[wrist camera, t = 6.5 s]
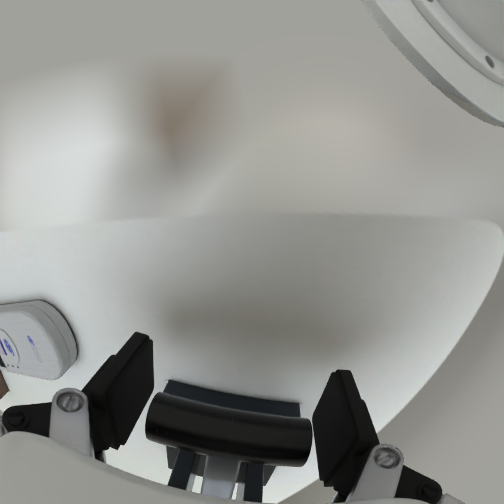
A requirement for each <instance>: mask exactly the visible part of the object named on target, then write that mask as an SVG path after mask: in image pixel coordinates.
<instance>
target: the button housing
mask: <svg viewBox="0 0 504 504" xmlns="http://www.w3.org/2000/svg"><path fill="white" fill-rule="evenodd" d="M8 391H9V390H8V388H7V385H6V383H5V381H4V378H3V376H2V374H1V371H0V399H1V398H2V397H3V396H4V395H5V394H6V393H7V392H8Z"/></svg>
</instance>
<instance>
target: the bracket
mask: <svg viewBox="0 0 504 504" xmlns="http://www.w3.org/2000/svg"><path fill="white" fill-rule="evenodd" d="M163 393H165V394H168V395H172V396H176V397H179V398H183V399H187V400H191V401H195V402H200V403H204V404H209V405H213V406H218V407H223V408H229V409H234V410H240V411H246V412H253V413H259V414H267V415H275V416H285V417H295V418H300V406H299V404H298V403H288V402H279V401H271V400H264V399H257V398H250V397H244V396H238V395H233V394H227V393H222V392H217V391H212V390H208V389H203V388H199V387H195V386H191V385H186V384H183V383H179V382H175V381H171V380H169V381H168V383H167V385H166V387H165V389H164V391H163ZM166 448H167V459H168V468H170V469H173V470H172V473H171V476H170V479H169V482H168V485H167V486H170V487H174V488H178V489H182V490H186V491H190V492H192V488H193V484H194V480H195V476H196V475H197V476H202V477H203V475H204V469H205V463H206V457H207V456H206V455H202V454H197V453H193V452H189V451H185V450H181V449H177V448H174V447H170V446H167V445H166ZM275 468H276V465H264V464H255V463H247V462H241V463H240V467H239V471H238V475H237V479H236V483H238V488H237V496H236V500H240V501H249V502H259V503H262V493H263V486H266V484H267V482H268V480H269V479H270V477H271V475H272V473H273V471H274V470H275Z"/></svg>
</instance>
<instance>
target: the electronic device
mask: <svg viewBox="0 0 504 504" xmlns="http://www.w3.org/2000/svg"><path fill="white" fill-rule="evenodd" d="M76 356H77V349H76V342H75V340H74V337H73V335H72V332H71V330H70V328H69V326H68V324H67V323H66V321H65V319H64V318H63V317H62V316H61V314H60V313H59V312H58V311H57V310H56V309H55V308H53V307H52V306H51V305H49V304H48V303H46V302H43V301H39V300H36V301H28V302H21V303H14V304H6V305H0V370H4V371H8V372H12V373H16V374H21V375H26V376H31V377H36V378H41V379H47V380H56V379H59V378H60V377H61V376H62V375H63V374H64V373H65V372H66V371H67V370H68V369H69V368H70V367H71V366H72V365H73V363H74V362H75V360H76Z"/></svg>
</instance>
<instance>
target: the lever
mask: <svg viewBox="0 0 504 504" xmlns="http://www.w3.org/2000/svg"><path fill="white" fill-rule="evenodd" d="M145 434H146V438H147V439H148V440H150V441H153V442H157V443H160V444H163V445H167V446H170V447H174V448H177V449H181V450H185V451H189V452H193V453H197V454H202V455H206V456H207V457H206V463H205V469H204V475H203V482H202V488H201V494H204V495H209V496H214V497H220V498H226V499H231V498H232V494H233V490H234V487H235V483H236V479H237V475H238V471H239V467H240V463H241V462H247V463H255V464H264V465H276V466H291V467H301V466H303V465H304V464H305V463H306V461H307V459H308V457H309V454H310V451H311V446H312V436H313V433H312V425H311V422H310V420H309V419H307V418H295V417H285V416H275V415H267V414H259V413H253V412H246V411H240V410H234V409H229V408H223V407H218V406H213V405H209V404H204V403H200V402H195V401H191V400H187V399H183V398H179V397H176V396H172V395H168V394H165V393H161V392H158V393H157V394H156V395H155V396H154V398H153V400H152V402H151V404H150V407H149V410H148V413H147V418H146V424H145Z"/></svg>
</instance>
